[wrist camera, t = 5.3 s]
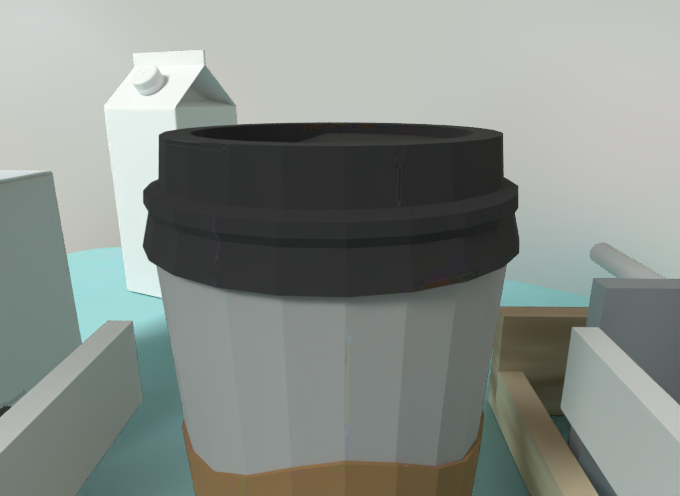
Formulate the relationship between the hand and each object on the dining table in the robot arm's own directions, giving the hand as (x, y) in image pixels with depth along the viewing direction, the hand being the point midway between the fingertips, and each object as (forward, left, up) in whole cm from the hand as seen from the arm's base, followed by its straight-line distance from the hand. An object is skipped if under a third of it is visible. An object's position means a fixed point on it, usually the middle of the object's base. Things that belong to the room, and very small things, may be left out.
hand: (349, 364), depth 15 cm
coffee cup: (-2, 0, -8) cm, 8 cm away
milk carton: (+21, +23, -8) cm, 32 cm away
